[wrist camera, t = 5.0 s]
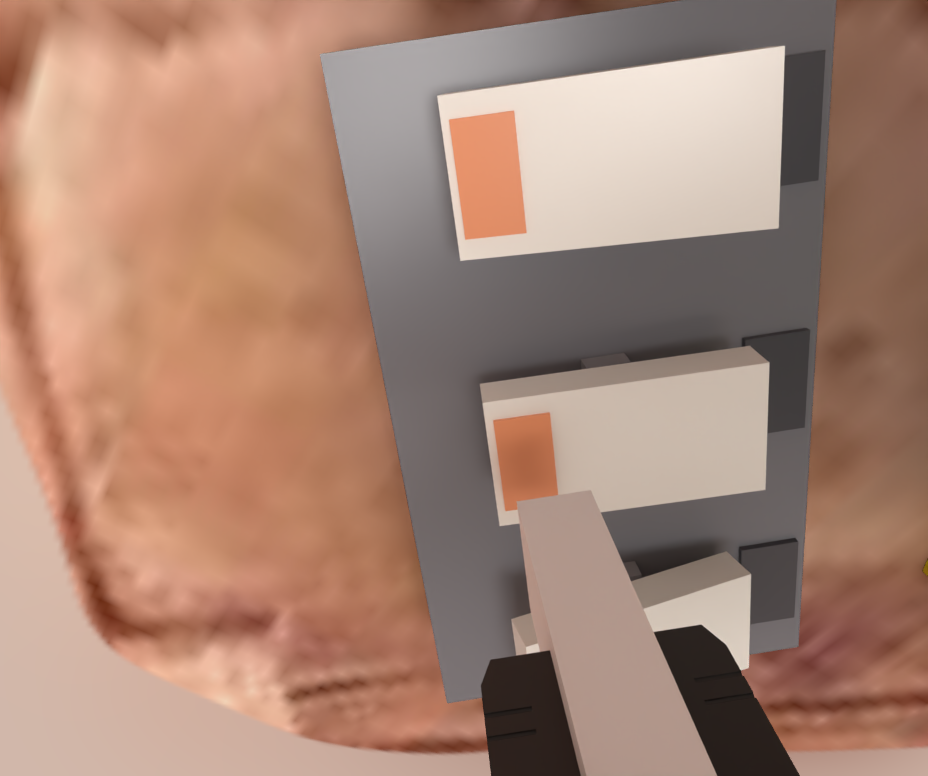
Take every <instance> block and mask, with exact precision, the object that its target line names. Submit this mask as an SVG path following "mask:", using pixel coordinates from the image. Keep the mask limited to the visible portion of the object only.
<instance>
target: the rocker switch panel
mask: <svg viewBox="0 0 928 776" xmlns="http://www.w3.org/2000/svg"><path fill="white" fill-rule="evenodd" d="M835 16H836V0H680V1H673V2H667V3H660V4H653V5H646V6H640V7H633V8H626V9H620V10H613V11H606V12H599V13H593V14H586V15H579V16H572V17H566V18H559V19H552V20H546V21H539V22H532V23H525V24H519V25H512V26H505V27H499V28H492V29H485V30H478V31H472V32H465V33H458V34H451V35H445V36H438V37H431V38H425V39H418V40H411V41H404V42H398V43H391V44H384V45H377V46H371V47H364V48H357V49H351V50H344V51H337V52H330V53H324V54H320V58H321V63H322V68H323V73H324V78H325V83H326V89H327V94H328V99H329V104H330V109H331V114H332V119H333V124H334V129H335V134H336V140H337V145H338V150H339V155H340V160H341V165H342V170H343V175H344V180H345V185H346V190H347V196H348V201H349V206H350V211H351V216H352V221H353V226H354V231H355V236H356V241H357V246H358V252H359V257H360V262H361V267H362V272H363V277H364V282H365V287H366V292H367V297H368V302H369V308H370V313H371V318H372V323H373V328H374V333H375V338H376V343H377V348H378V353H379V358H380V364H381V369H382V374H383V379H384V384H385V389H386V394H387V399H388V404H389V409H390V415H391V420H392V425H393V430H394V435H395V440H396V445H397V450H398V455H399V460H400V465H401V471H402V476H403V481H404V486H405V491H406V496H407V501H408V506H409V511H410V516H411V521H412V527H413V532H414V537H415V542H416V547H417V552H418V557H419V562H420V567H421V572H422V577H423V583H424V588H425V593H426V598H427V603H428V608H429V613H430V618H431V623H432V628H433V634H434V639H435V644H436V649H437V654H438V659H439V664H440V669H441V674H442V679H443V684H444V690H445V695H446V700H447V703H452V702H459V701H465V700H471V699H477V698H482V693H481V684H482V681H483V678H484V675H485V673H486V670H487V667H488V665H489V662H490V660H491V659H498V658H504V657H510V656H516V650H515V643H514V635H513V628H512V621H511V619H513V618H516V617H519V616H523V615H526V614H529V613H531V610H530V603H529V595H528V587H527V579H526V571H525V564H524V556H523V548H522V540H521V532H520V524H512V525H505V526H500V525H499V518H498V511H497V504H496V497H495V490H494V483H493V475H492V468H491V461H490V454H489V447H488V440H487V432H486V425H485V418H484V411H483V404H482V397H481V390H480V384H482V383H489V382H496V381H503V380H510V379H517V378H525V377H532V376H539V375H546V374H553V373H560V372H567V371H574V370H581V369H588V368H596V367H603V366H610V365H617V364H624V363H631V362H638V361H645V360H652V359H660V358H667V357H674V356H681V355H688V354H695V353H702V352H709V351H716V350H724V349H731V348H738V347H745V346H751V347H752V348H753V349H754V350H755V351H756V352H758V353H759V354H760V355H761V356H762V357H763V358H765V359H766V360H767V361H768V362H769V394H768V425H767V456H766V487H765V490H761V491H754V492H746V493H739V494H732V495H724V496H717V497H710V498H702V499H695V500H688V501H680V502H673V503H666V504H659V505H651V506H644V507H637V508H629V509H622V510H615V511H607V512H601V514H602V517H603V519H604V521H605V524H606V526H607V528H608V530H609V533H610V535H611V537H612V539H613V542H614V544H615V546H616V548H617V551H618V553H619V555H620V557H621V560H622V562H623V564H624V566H625V569H626V571H627V573H628V575H629V578H630V580H631V581H634V580H637V579H640V578H643V577H646V576H650V575H653V574H656V573H659V572H662V571H665V570H669V569H672V568H675V567H678V566H681V565H684V564H688V563H691V562H694V561H697V560H700V559H704V558H707V557H710V556H713V555H716V554H719V553H723V552H726V551H727V552H728V553H729V554H730V555H731V556H732V557H733V558H734V559H735V560H736V561H737V562H739V563H740V564H741V565H742V566H743V567H744V568H745V569H746V570H747V571H748V572H749V573H751V599H750V640H749V655H751V654H757V653H763V652H769V651H775V650H782V649H788V648H794V647H798V643H799V626H800V609H801V592H802V575H803V558H804V541H805V524H806V507H807V490H808V473H809V457H810V440H811V423H812V406H813V389H814V372H815V355H816V338H817V321H818V304H819V287H820V270H821V253H822V236H823V219H824V202H825V185H826V168H827V151H828V135H829V118H830V101H831V84H832V67H833V50H834V33H835ZM769 46H785V59H784V88H783V117H782V145H781V174H780V203H779V228H777V229H767V230H757V231H747V232H738V233H728V234H718V235H708V236H698V237H689V238H679V239H669V240H659V241H650V242H640V243H630V244H620V245H611V246H601V247H591V248H581V249H571V250H562V251H552V252H542V253H532V254H523V255H513V256H503V257H493V258H484V259H474V260H464V261H460V255H459V248H458V240H457V233H456V226H455V219H454V212H453V205H452V198H451V191H450V184H449V177H448V170H447V162H446V155H445V148H444V141H443V134H442V127H441V120H440V113H439V106H438V99H437V96H438V95H442V94H445V93H451V92H458V91H465V90H472V89H479V88H486V87H493V86H500V85H506V84H513V83H520V82H527V81H534V80H541V79H548V78H555V77H562V76H569V75H576V74H582V73H589V72H596V71H603V70H610V69H617V68H624V67H631V66H638V65H645V64H652V63H659V62H665V61H672V60H679V59H686V58H693V57H700V56H707V55H714V54H721V53H728V52H735V51H741V50H748V49H755V48H762V47H769Z"/></svg>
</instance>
